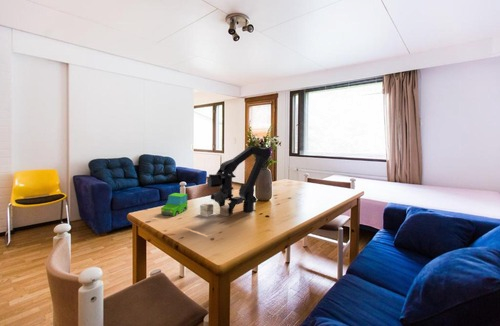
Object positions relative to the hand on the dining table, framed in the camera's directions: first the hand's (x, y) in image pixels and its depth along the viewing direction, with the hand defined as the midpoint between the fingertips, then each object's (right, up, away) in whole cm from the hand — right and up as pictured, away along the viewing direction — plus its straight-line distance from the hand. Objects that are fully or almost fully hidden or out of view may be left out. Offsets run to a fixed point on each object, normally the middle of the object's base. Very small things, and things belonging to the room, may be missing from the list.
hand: (226, 213), depth 130 cm
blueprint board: (-12, -1, +1) cm, 12 cm away
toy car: (-29, -1, +1) cm, 29 cm away
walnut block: (0, -1, 0) cm, 1 cm away
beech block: (-11, 0, 0) cm, 11 cm away
